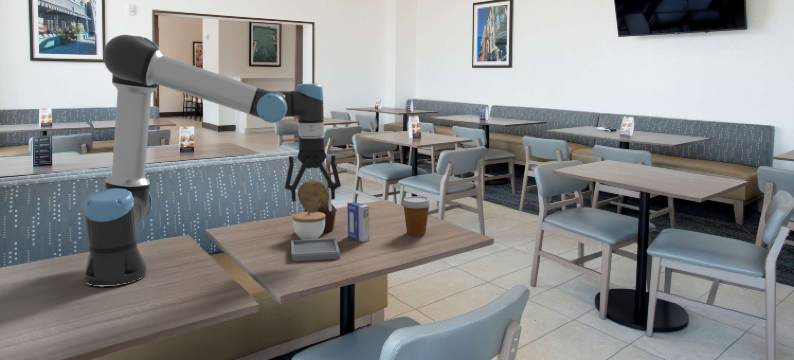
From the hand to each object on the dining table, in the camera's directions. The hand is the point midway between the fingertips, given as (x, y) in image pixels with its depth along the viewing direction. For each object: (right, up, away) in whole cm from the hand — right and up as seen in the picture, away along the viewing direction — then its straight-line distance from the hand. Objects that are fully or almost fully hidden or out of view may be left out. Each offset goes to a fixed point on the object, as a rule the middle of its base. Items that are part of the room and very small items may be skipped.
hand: (313, 210), depth 177 cm
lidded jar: (-4, -10, +17) cm, 20 cm away
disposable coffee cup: (+32, -9, +23) cm, 40 cm away
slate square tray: (0, -13, +3) cm, 13 cm away
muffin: (-1, -8, +27) cm, 28 cm away
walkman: (+12, -10, +17) cm, 23 cm away
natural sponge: (0, -1, 0) cm, 1 cm away
